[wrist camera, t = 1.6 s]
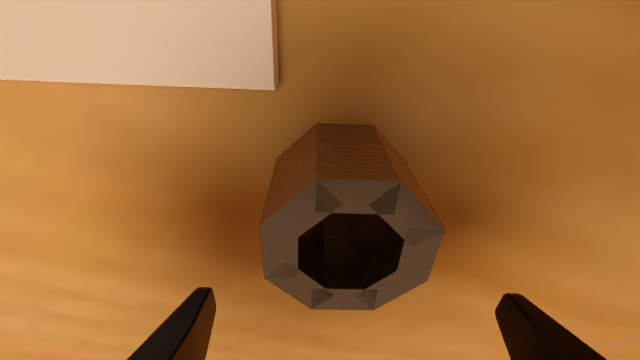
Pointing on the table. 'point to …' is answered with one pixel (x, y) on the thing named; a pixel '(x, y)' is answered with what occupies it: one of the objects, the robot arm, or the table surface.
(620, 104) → the table surface
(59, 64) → the post block
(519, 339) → the robot arm
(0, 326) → the table surface
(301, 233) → the steel collar
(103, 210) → the table surface
